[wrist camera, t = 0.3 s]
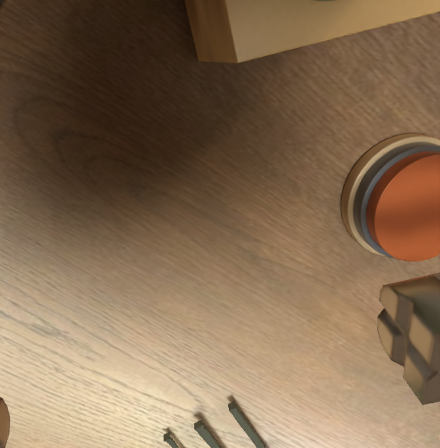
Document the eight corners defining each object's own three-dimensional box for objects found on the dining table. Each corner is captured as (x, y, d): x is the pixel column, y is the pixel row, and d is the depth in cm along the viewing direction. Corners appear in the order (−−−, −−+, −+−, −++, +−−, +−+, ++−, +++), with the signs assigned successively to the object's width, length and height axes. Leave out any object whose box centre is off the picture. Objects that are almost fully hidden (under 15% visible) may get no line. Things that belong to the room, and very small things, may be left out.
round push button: (334, 152, 29) (358, 164, 26) (455, 118, 30) (494, 126, 26) (346, 263, 33) (368, 286, 30) (453, 232, 34) (486, 250, 30)
